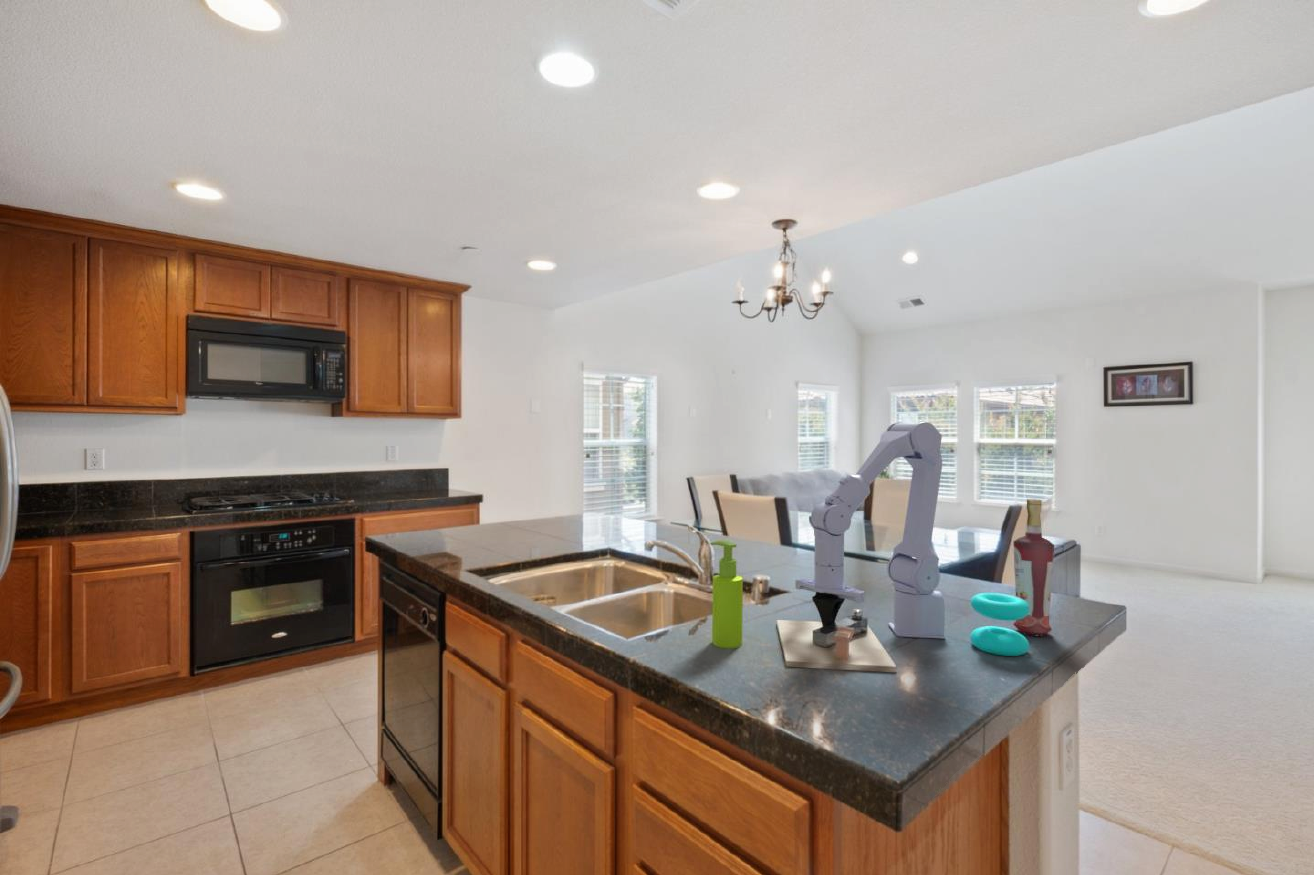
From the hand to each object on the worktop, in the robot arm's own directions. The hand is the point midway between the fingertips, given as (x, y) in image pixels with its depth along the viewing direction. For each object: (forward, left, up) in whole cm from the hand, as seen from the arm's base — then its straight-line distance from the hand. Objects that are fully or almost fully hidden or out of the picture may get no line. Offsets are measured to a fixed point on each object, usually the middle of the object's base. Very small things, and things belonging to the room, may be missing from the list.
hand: (828, 630), depth 125 cm
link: (-3, +1, -1) cm, 3 cm away
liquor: (-43, -11, -2) cm, 45 cm away
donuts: (-32, 0, -2) cm, 32 cm away
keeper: (-1, +10, -1) cm, 10 cm away
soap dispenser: (+21, +4, -2) cm, 21 cm away
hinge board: (0, +3, -2) cm, 4 cm away
